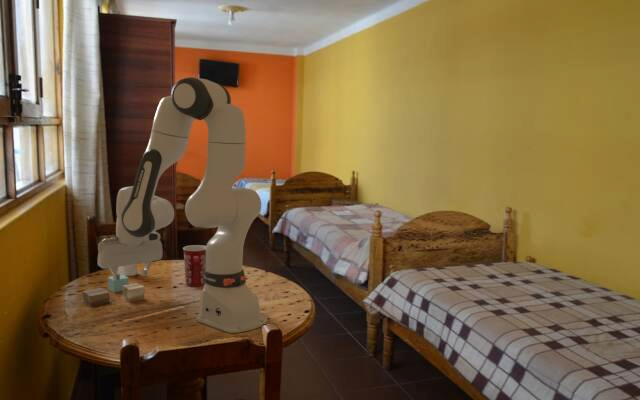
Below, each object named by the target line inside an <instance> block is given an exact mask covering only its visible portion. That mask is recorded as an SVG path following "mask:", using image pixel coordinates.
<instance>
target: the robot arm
mask: <svg viewBox="0 0 640 400" xmlns="http://www.w3.org/2000/svg"><path fill="white" fill-rule="evenodd" d="M158 103H159V104H158V106H157V109H156V112H155V115H154V118H153V121H152V127H151V131H150V132H151V133H150V137H149V140H148V143H147V147H146V149H145V151H144V153H143V155H142V157H141V160H140V162H139V166H138V170H137V172H136V176H135V179H134V182H133V185H131V186H130V185H129V186H125V187H122V188H120V189H119V190H118V192H117V196H116V204H115V206H116V209H115V210H116V211H115V212H116V218H117V217H118V222H117V221H116V222H117V225H116V224H115V225H116V226H115V237H110V238H103V239H102V240H100V241H99V242H98V243H97V251H98V253H97V254H98V255H97V265H98V267H100V268H101V269H104V270H106V269H109V271H110V272H111V274H112V276H113V279H114V280H120V274H118V273H117V268H118V267H119V266H126V265H132V264H136V265H137V264H143V263H144V264H145V266H144V268H141V274H142V276H147V275H149V270H150V268H151V266H152V264H153V263H152V262H157V261H161V259H162V258H163V255H164V254H163V244H162V242H161V240H160V239H161V233H158V232H157V230H161V229H163V228H166V227H167V226H169V225H170V224H171V223H172V222H173V221H174V220H175V213H176V212H175V208H174V206H173V204H172V203H171V201H170V200H168V199H166V198H164V197H163V198H162V197H160V196H157V195H155V194H156V190H157V187H158V182H159V180H160V178H161V176H162V175H163V173H164V172H165V171H167V169H169V168H170V167H171V166H173V165H175V164H176V163H177V162H178V161H180V160H181V159H182V158H183V157H184V156H185V153H186V151H187V149H188V146H189V139H190V134H191V128H192V125H193V122H194V121H195V120H197V121H202V120H204V122H205V124H206V126H207V148H206V149H207V151H206V153H207V154H206V155H207V156H206V165H205V169H204V170H205V171H204V175H203V177H202V179H201V182H200V184H199V185H198V186H197V189H196V190H195V191H194V192H193V193H192V194H191V195H190V196H189V197H188V198H187V200H186V202H185V206H184V213H185V216H186V219H187V221H188V222H189V223H190V224H191V225H192V226H193V227H195V228H203V229H211V228H217V230H216V232H215V234H214V235H213V236H212V237H211V238H210V239H209V240H208V241H207V243H206V245H205V246H206V269H205V270H204V282H205V285H203V288H202V290H201V292H200V299H199V300H200V301H199V310H198V314H197V315H196V316H195V321H196V322H199V323H202V324H204V325H207V326H209V327H212V328H214V329H217V330H221V331H223V332H226V333H229V334H231V333H232V334H233V333H234V334H236V333H243V332H247V331H248V332H249V331H251V330H255V329H257V328H260V327H263V326H264V325H263V324H265V325H266V324H267V323H268V322H269V320H268V317H267V316H265V315H263V314H262V313H261V308H260V302H259V298H258V295H254V293H253V292H252V291H251V289H250V287H249V286H248V285H247V280H248V278H247V277H248V275H246V273H245V270H244V269H243V262H244V261H243V257H244V245H245V239H246V236H247V234H248V231H249V229H250V227H251V225H252V224H253V222H254V220H255V219H256V218H257V217H258V216H259V215H260V213H261V210H262V200H261V197H260V195H259V193H258V192H257V191H255V190H254V189H252V188H245V187H233V185H234V183H235V181H236V179H237V178H238V177H239V176H240V175H242V173H243V172H244V171H245V167H246V150H247V149H246V146H247V145H246V144H247V143H246V142H247V141H246V140H247V132H246V131H247V130H246V122H245V116H244V112H243V110H242V109H241V107H238V106H237V105H235V104H232V98H231V95H230V92H229V91H228V90H227V88H226V87H225V86H223V85H222V84H221V83H218V82H214V81H211V80H209V79H206V78H200V77H199V78H196V77H192V76H191V77H185V78H182V79H180V80H177V82H176V83H175V84H174V85H173V86H172V88H171V93H170V95H169V96H165V97H163V98H162V99H160V101H159V102H158ZM116 227H117V228H116ZM262 325H263V326H262Z"/></svg>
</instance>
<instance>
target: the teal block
mask: <svg viewBox="0 0 640 400" xmlns="http://www.w3.org/2000/svg"><path fill="white" fill-rule="evenodd" d="M124 285H129V277H128V276H124V275H120V280H114V279H113V275H111V276H107V289H108V290H110V291H111V292H112V293H114V294H115V293H119V292H123V286H124Z"/></svg>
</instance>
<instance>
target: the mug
mask: <svg viewBox="0 0 640 400" xmlns="http://www.w3.org/2000/svg"><path fill="white" fill-rule="evenodd" d="M182 251H183V261H184V262H183V263H184V278H185V285H186V286H188V287H201V286H204V285H205V282H204V270H205V269H206V245H200V244H197V245H196V244H194V245H193V244H192V245H186V246H184V247H182Z"/></svg>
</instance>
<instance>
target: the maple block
mask: <svg viewBox="0 0 640 400" xmlns="http://www.w3.org/2000/svg"><path fill="white" fill-rule="evenodd" d="M122 299H123V300H125V301H126V302H128V303H132V302H133V303H134V302H137V301H142V300H145V286H144V285H142V284H140V283H138V282H135V283H130V284H129V285H124V286H123V291H122Z"/></svg>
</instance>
